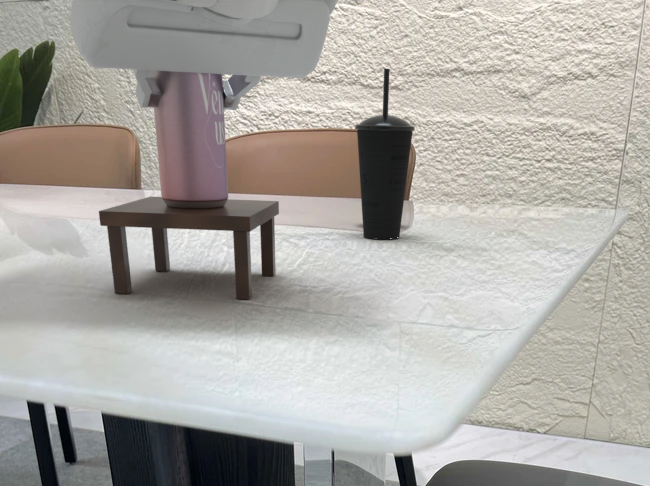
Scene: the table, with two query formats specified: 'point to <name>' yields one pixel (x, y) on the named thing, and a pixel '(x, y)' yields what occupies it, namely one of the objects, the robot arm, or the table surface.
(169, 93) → the beverage can
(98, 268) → the table surface
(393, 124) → the drinking cup
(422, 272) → the table surface
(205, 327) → the table surface
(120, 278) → the side table
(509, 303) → the table surface
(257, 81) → the robot arm
